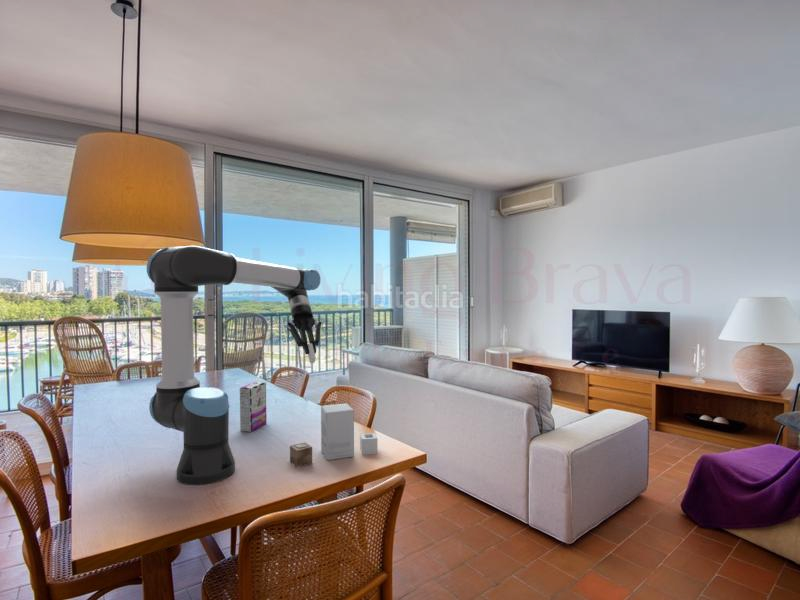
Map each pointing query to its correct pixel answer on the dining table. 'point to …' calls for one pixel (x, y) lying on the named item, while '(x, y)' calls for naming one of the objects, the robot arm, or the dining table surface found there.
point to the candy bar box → (252, 406)
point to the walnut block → (301, 454)
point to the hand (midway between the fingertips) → (312, 360)
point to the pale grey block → (368, 443)
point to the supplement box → (337, 431)
